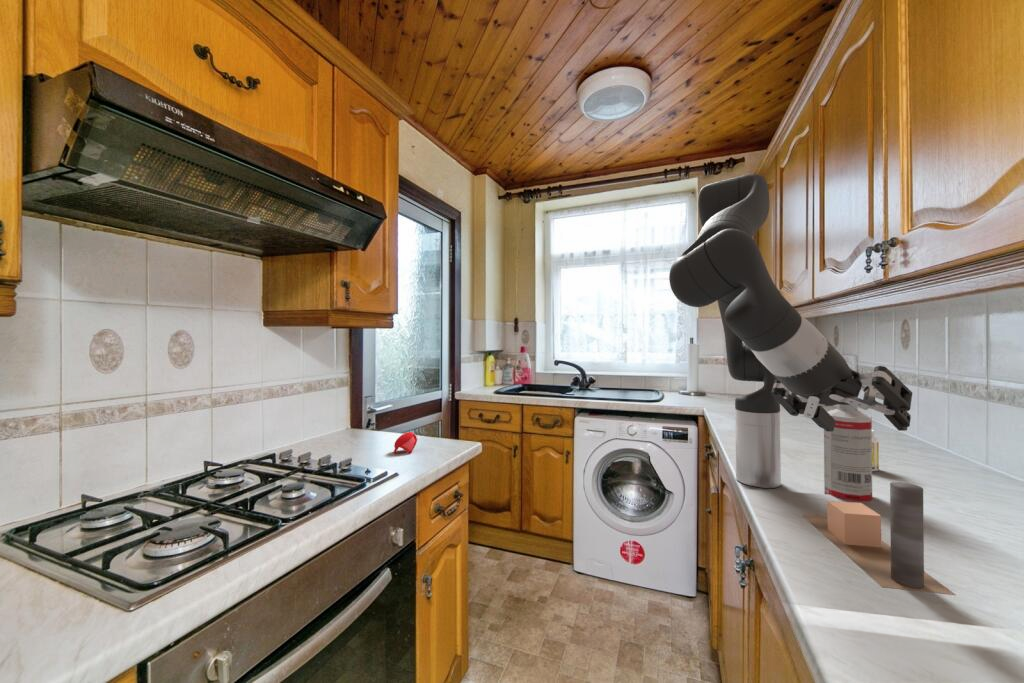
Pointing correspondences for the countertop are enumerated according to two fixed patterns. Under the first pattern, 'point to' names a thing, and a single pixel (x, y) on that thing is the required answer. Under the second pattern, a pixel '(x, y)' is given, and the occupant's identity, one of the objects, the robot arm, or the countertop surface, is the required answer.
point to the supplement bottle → (875, 453)
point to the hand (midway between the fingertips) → (865, 426)
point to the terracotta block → (854, 523)
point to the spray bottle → (848, 455)
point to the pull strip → (874, 560)
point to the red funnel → (406, 442)
